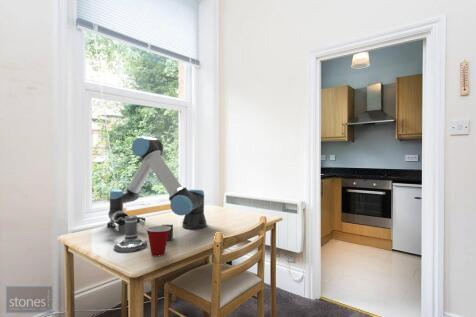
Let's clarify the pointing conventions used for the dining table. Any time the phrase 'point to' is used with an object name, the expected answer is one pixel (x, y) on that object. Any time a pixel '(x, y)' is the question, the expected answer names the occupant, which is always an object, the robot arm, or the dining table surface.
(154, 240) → the plastic cup
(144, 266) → the dining table surface
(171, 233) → the box
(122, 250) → the mount plate
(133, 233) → the lens
